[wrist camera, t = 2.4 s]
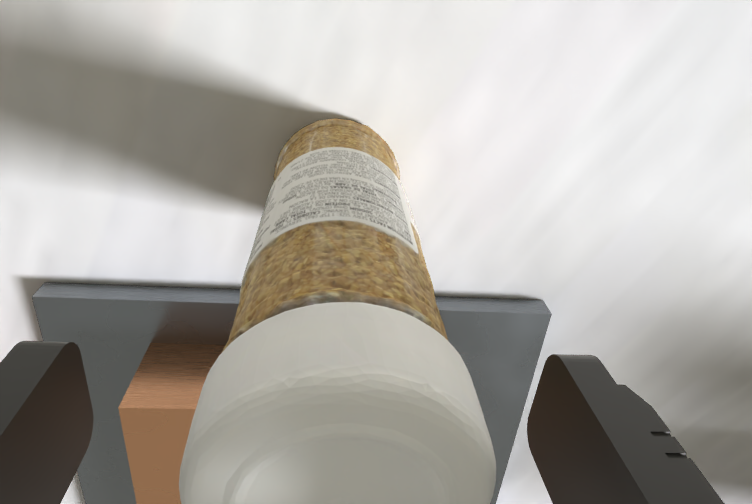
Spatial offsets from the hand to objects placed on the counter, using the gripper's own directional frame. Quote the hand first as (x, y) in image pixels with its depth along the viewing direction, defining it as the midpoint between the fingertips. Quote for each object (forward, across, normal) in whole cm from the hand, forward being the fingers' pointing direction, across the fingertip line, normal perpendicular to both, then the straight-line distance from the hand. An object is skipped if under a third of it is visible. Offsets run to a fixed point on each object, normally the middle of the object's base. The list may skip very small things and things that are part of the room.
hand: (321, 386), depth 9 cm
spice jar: (+11, 0, 0) cm, 11 cm away
